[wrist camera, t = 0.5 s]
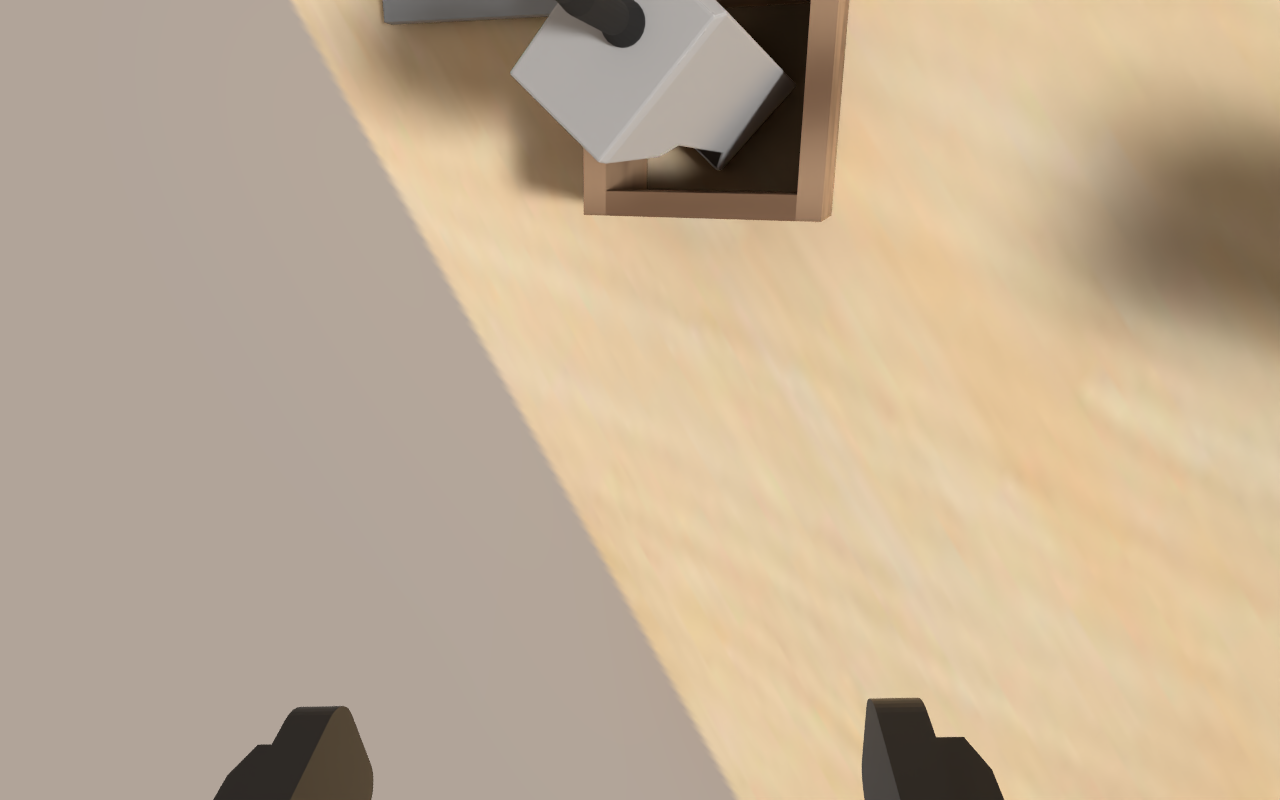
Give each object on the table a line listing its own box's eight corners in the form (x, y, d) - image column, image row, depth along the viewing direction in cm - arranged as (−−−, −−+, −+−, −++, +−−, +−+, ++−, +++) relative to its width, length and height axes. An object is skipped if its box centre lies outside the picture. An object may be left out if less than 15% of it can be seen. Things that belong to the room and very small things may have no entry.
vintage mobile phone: (667, 116, 36) (287, 9, 13) (739, 28, 34) (439, -281, 11) (722, 171, 36) (436, 158, 13) (797, 85, 34) (616, -106, 11)
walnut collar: (629, -12, 35) (581, -47, 30) (851, -25, 32) (844, -67, 27) (627, 209, 38) (583, 214, 32) (831, 215, 35) (821, 221, 30)
